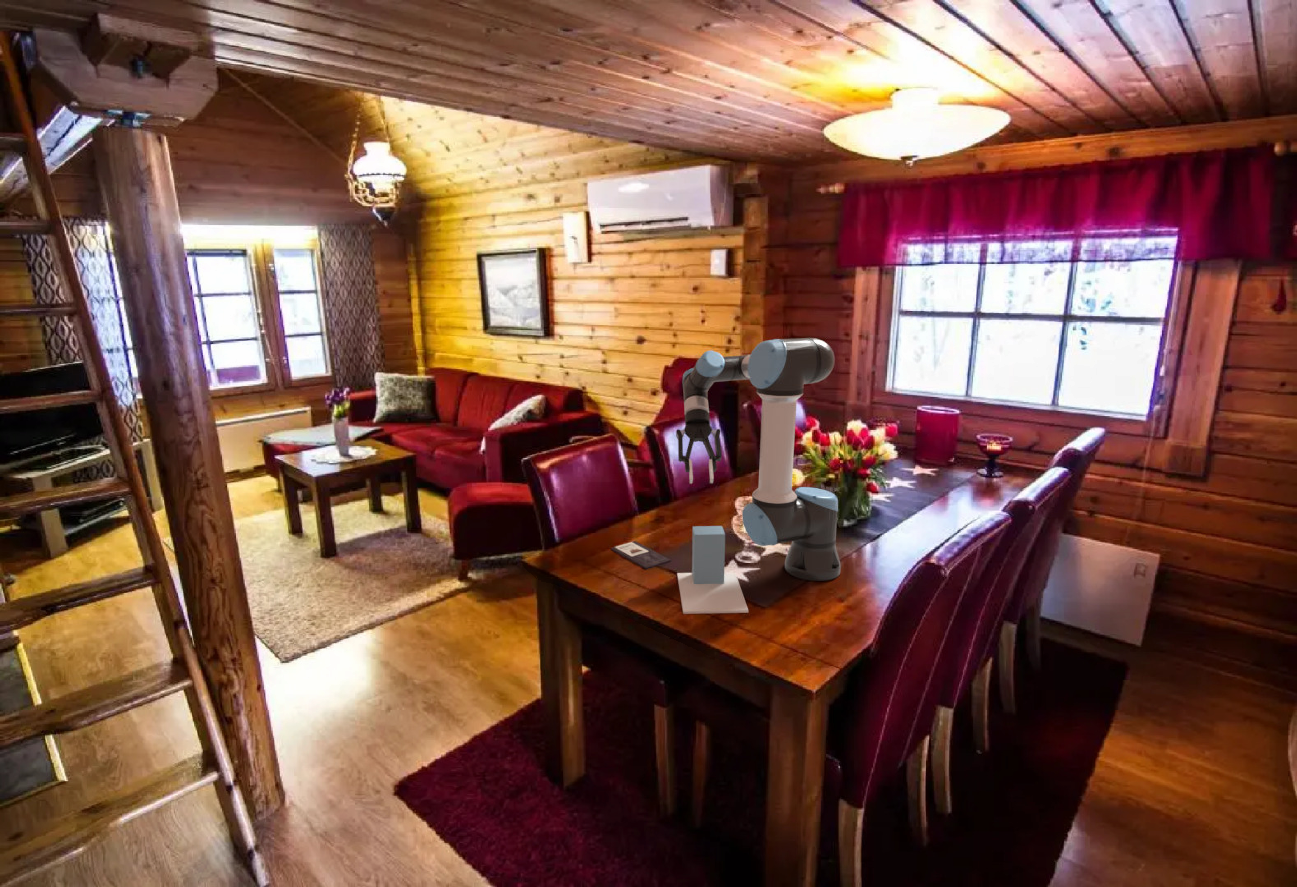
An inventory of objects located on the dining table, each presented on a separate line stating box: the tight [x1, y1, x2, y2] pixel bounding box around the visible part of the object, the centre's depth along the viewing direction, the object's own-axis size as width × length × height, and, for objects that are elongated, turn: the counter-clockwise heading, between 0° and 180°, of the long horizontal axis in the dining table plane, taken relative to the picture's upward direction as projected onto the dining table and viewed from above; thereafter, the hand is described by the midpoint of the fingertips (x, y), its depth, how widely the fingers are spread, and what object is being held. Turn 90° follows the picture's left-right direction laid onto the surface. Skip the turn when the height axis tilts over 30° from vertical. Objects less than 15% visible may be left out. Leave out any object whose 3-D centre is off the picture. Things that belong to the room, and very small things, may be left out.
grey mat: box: [676, 571, 749, 615], centre depth 177 cm, size 16×22×1 cm
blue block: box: [691, 525, 726, 584], centre depth 182 cm, size 8×6×14 cm
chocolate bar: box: [610, 540, 672, 570], centre depth 201 cm, size 9×1×18 cm
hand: (701, 480), depth 197 cm, fingers open, 5 cm apart
